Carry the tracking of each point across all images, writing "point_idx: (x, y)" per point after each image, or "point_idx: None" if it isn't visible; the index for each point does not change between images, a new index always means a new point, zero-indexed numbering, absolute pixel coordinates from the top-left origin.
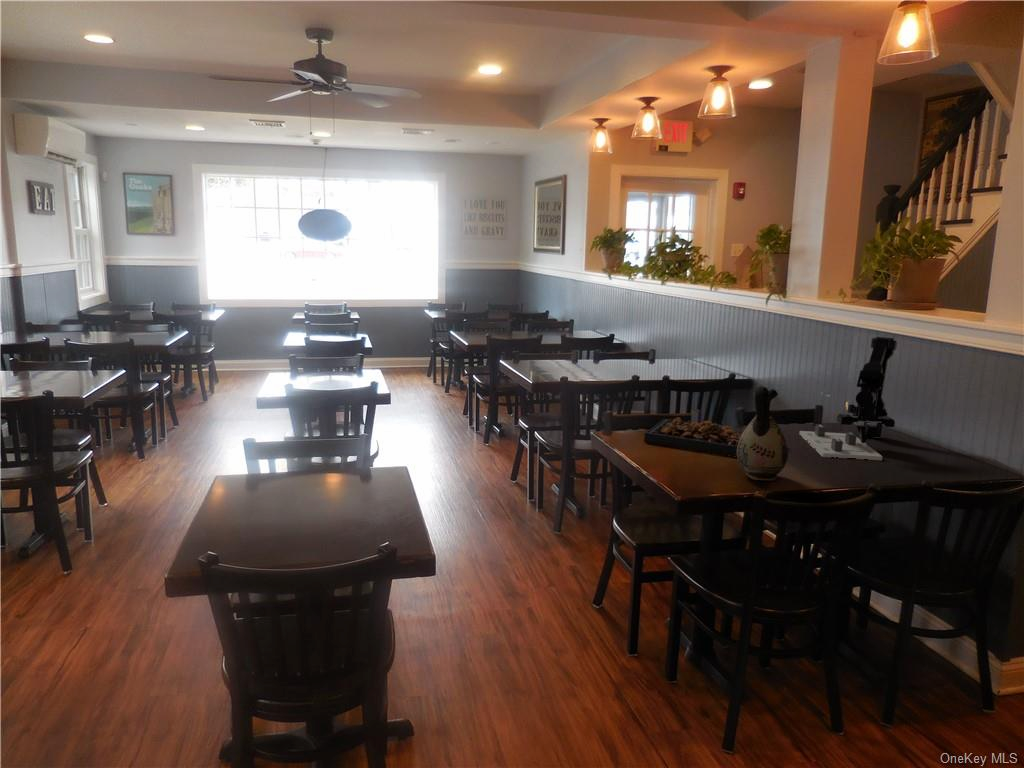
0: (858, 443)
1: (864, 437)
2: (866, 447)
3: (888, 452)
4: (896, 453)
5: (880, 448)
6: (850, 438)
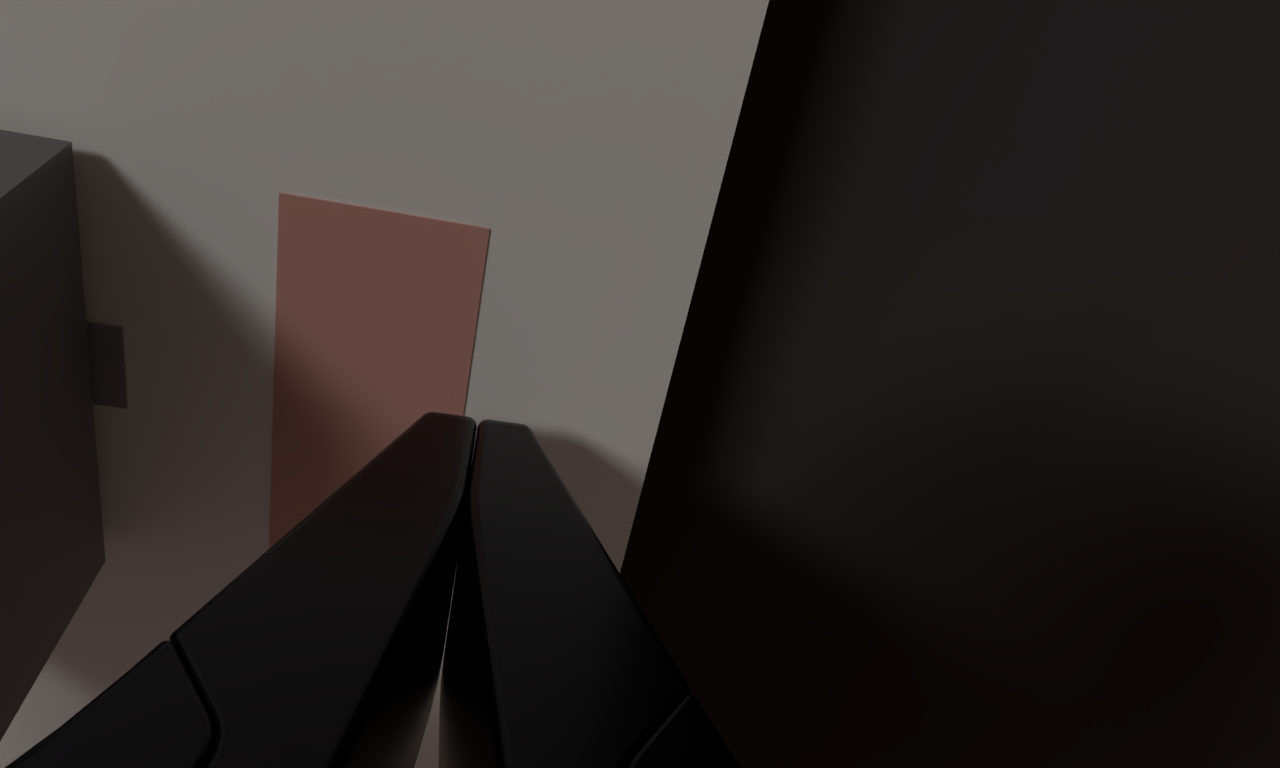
0: (356, 314)
1: (446, 751)
2: (431, 735)
3: (1081, 670)
4: (1227, 727)
5: (1195, 328)
6: None
